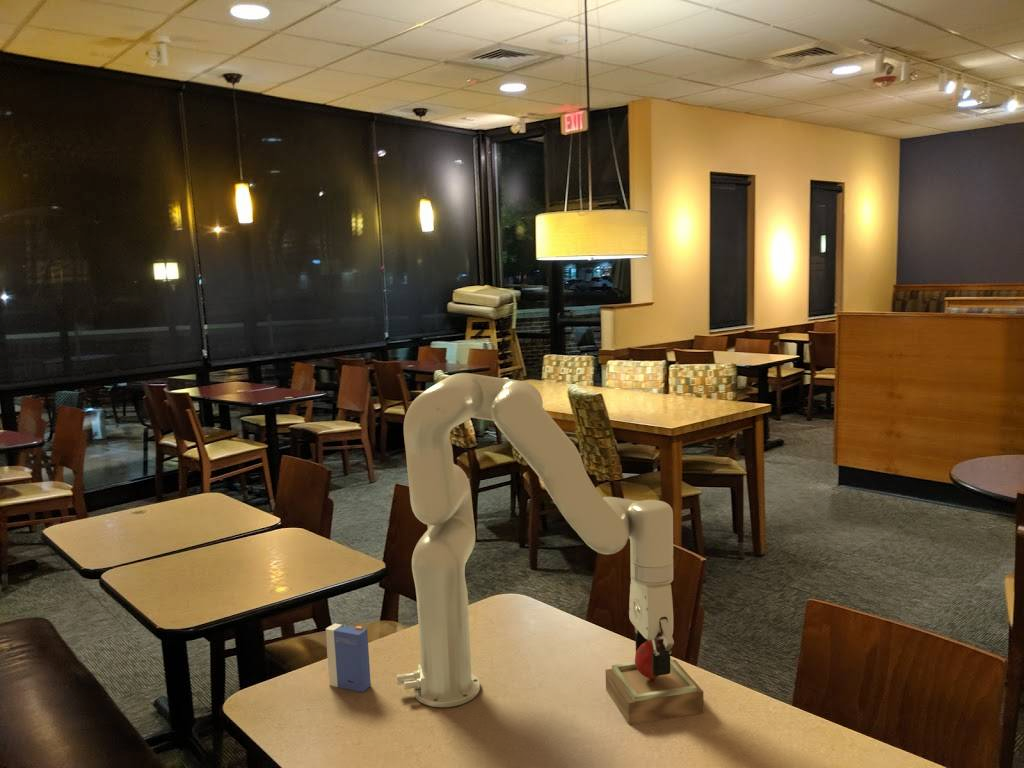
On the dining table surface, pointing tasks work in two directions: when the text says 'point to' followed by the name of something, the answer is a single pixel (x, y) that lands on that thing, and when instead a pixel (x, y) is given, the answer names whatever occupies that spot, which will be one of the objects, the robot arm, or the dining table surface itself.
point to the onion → (645, 659)
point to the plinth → (653, 693)
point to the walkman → (348, 657)
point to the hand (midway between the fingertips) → (652, 662)
